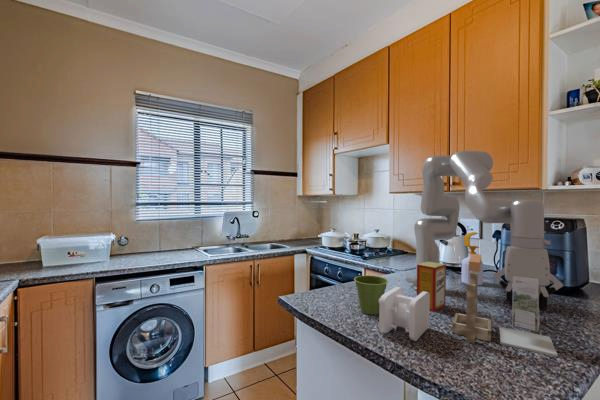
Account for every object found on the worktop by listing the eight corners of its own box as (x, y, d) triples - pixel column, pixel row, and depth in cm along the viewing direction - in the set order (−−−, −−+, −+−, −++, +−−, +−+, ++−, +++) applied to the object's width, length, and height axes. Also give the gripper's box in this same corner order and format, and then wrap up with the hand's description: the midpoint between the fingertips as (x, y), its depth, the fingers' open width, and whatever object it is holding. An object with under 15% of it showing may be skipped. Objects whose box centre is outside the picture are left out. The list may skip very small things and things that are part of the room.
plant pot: (358, 303, 113) (358, 273, 113) (390, 308, 107) (390, 277, 107) (349, 313, 102) (349, 281, 102) (384, 320, 97) (385, 286, 97)
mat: (500, 344, 81) (500, 341, 81) (499, 328, 91) (499, 326, 91) (557, 357, 75) (557, 354, 75) (549, 338, 85) (549, 336, 85)
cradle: (450, 338, 84) (451, 282, 85) (457, 317, 100) (457, 270, 100) (490, 347, 79) (491, 288, 79) (491, 324, 94) (491, 274, 94)
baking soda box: (428, 301, 116) (428, 260, 116) (445, 305, 111) (445, 263, 111) (416, 306, 110) (417, 263, 110) (434, 311, 105) (434, 266, 105)
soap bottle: (487, 285, 139) (487, 233, 139) (467, 285, 139) (468, 233, 139) (476, 280, 147) (476, 231, 148) (457, 280, 148) (458, 231, 148)
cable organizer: (414, 346, 79) (414, 303, 79) (377, 335, 86) (377, 295, 86) (430, 328, 91) (430, 290, 91) (396, 319, 98) (396, 284, 98)
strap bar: (468, 270, 98) (469, 261, 98) (471, 261, 113) (472, 253, 113) (479, 271, 96) (479, 262, 96) (481, 262, 111) (481, 254, 111)
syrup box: (539, 326, 83) (540, 275, 83) (537, 333, 79) (538, 279, 79) (515, 320, 87) (515, 271, 87) (511, 326, 83) (512, 275, 83)
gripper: (564, 244, 82) (563, 309, 82) (490, 239, 91) (489, 297, 91) (570, 248, 75) (570, 318, 75) (490, 242, 85) (489, 304, 85)
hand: (526, 306), depth 83 cm, fingers closed on syrup box, 6 cm apart
